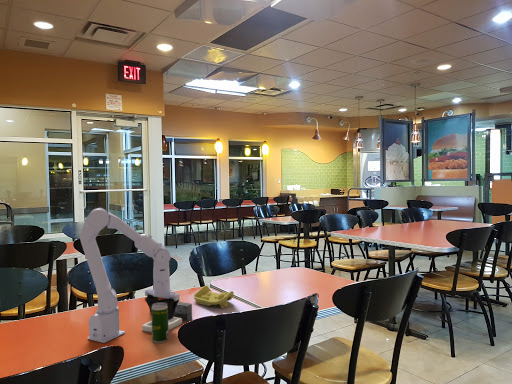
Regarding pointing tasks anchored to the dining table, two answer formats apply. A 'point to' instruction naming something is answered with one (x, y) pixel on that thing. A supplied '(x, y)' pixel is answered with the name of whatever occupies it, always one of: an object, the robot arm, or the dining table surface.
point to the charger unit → (183, 311)
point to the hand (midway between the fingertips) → (162, 317)
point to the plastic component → (212, 297)
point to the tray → (171, 324)
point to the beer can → (160, 322)
